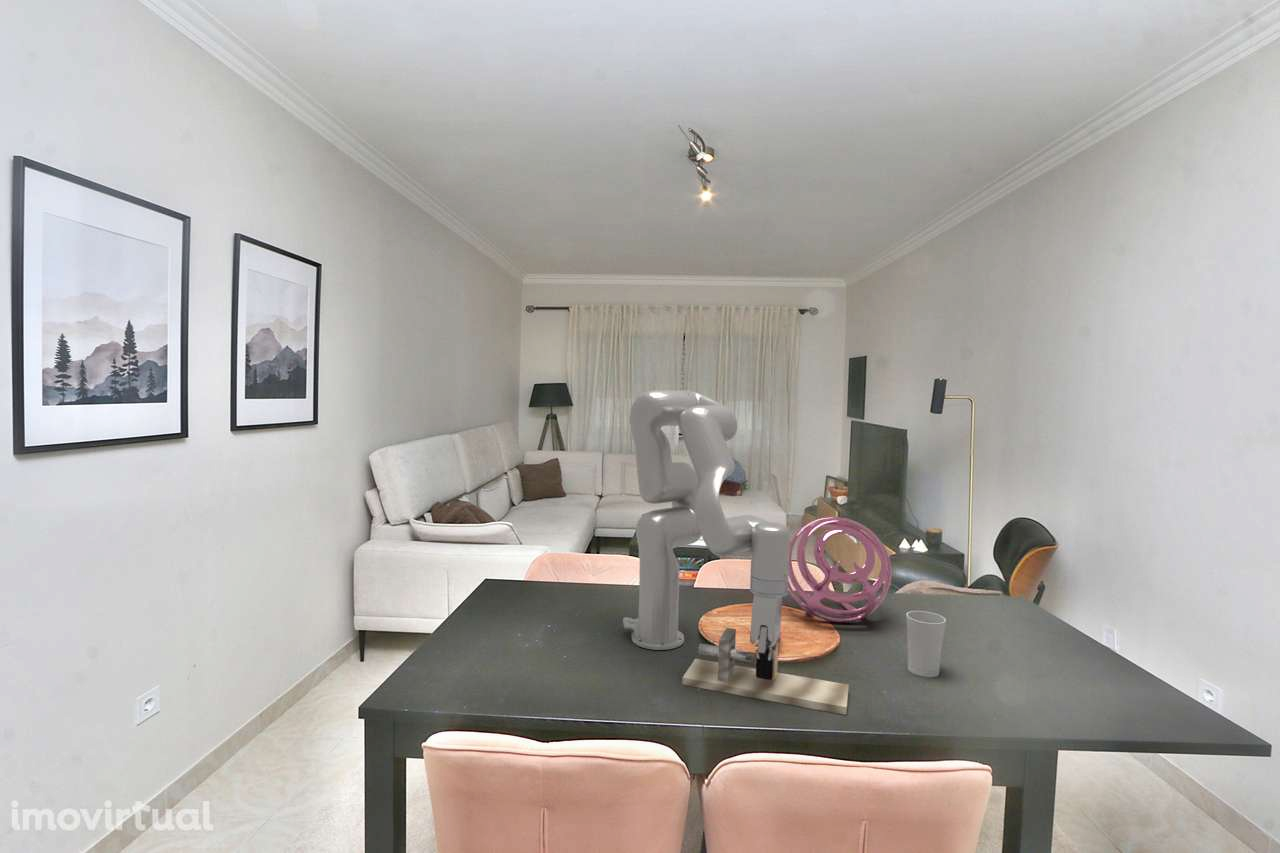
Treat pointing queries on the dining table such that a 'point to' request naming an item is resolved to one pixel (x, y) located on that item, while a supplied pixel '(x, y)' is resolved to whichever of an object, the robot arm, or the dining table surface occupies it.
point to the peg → (741, 654)
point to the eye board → (764, 682)
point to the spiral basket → (833, 574)
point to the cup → (924, 642)
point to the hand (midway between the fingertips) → (765, 672)
